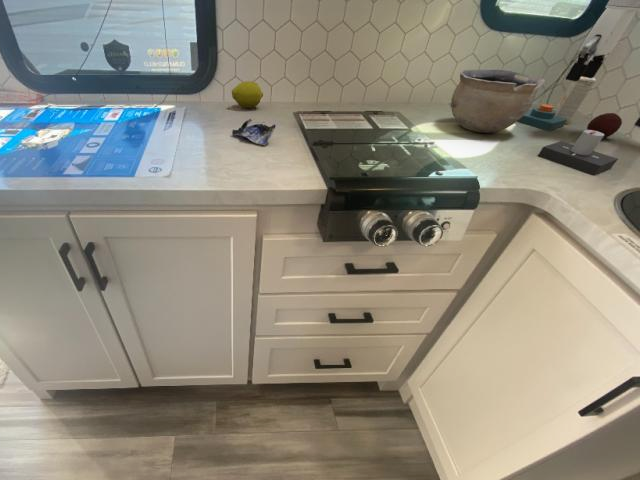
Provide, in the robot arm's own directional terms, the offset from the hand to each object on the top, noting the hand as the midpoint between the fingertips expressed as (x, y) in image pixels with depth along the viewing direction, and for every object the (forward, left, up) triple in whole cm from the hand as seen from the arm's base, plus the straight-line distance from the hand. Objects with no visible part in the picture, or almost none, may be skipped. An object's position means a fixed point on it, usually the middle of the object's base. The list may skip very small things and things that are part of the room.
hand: (579, 78), depth 101 cm
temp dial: (-16, +18, -12) cm, 28 cm away
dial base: (-16, +18, -15) cm, 29 cm away
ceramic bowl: (+13, +18, -15) cm, 27 cm away
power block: (+7, -8, -15) cm, 18 cm away
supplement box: (+5, -19, -15) cm, 24 cm away
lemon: (+63, +75, -15) cm, 99 cm away
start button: (+7, -8, -11) cm, 15 cm away
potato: (-9, -12, -15) cm, 21 cm away
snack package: (+37, +89, -15) cm, 98 cm away
